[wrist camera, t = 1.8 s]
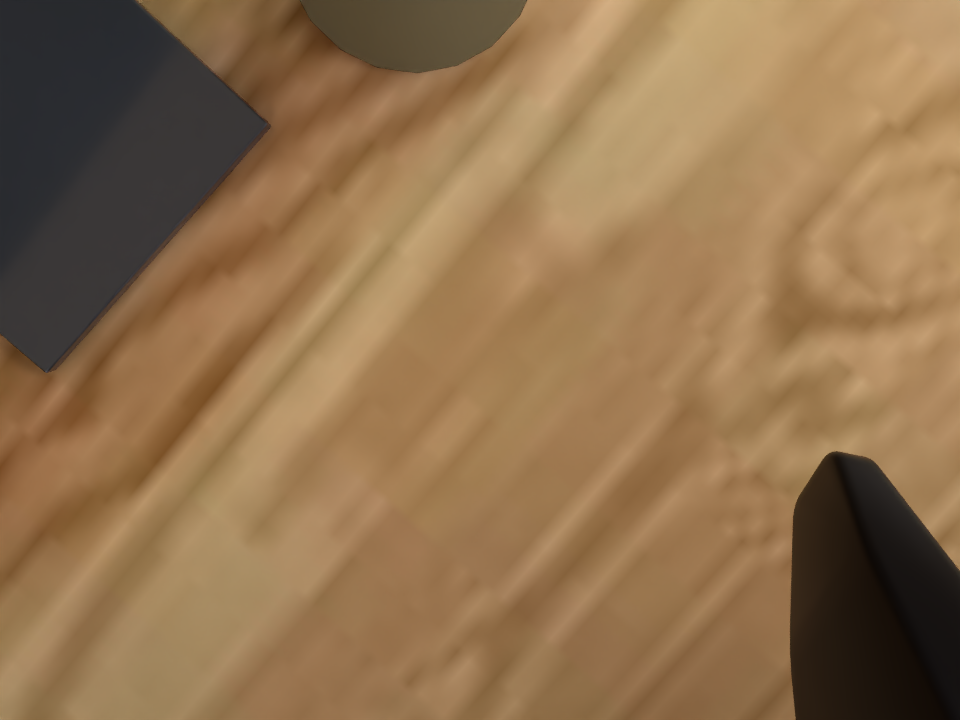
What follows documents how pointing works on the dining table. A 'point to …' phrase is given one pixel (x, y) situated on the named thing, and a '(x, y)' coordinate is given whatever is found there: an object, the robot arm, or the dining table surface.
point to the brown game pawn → (413, 29)
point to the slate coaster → (99, 159)
